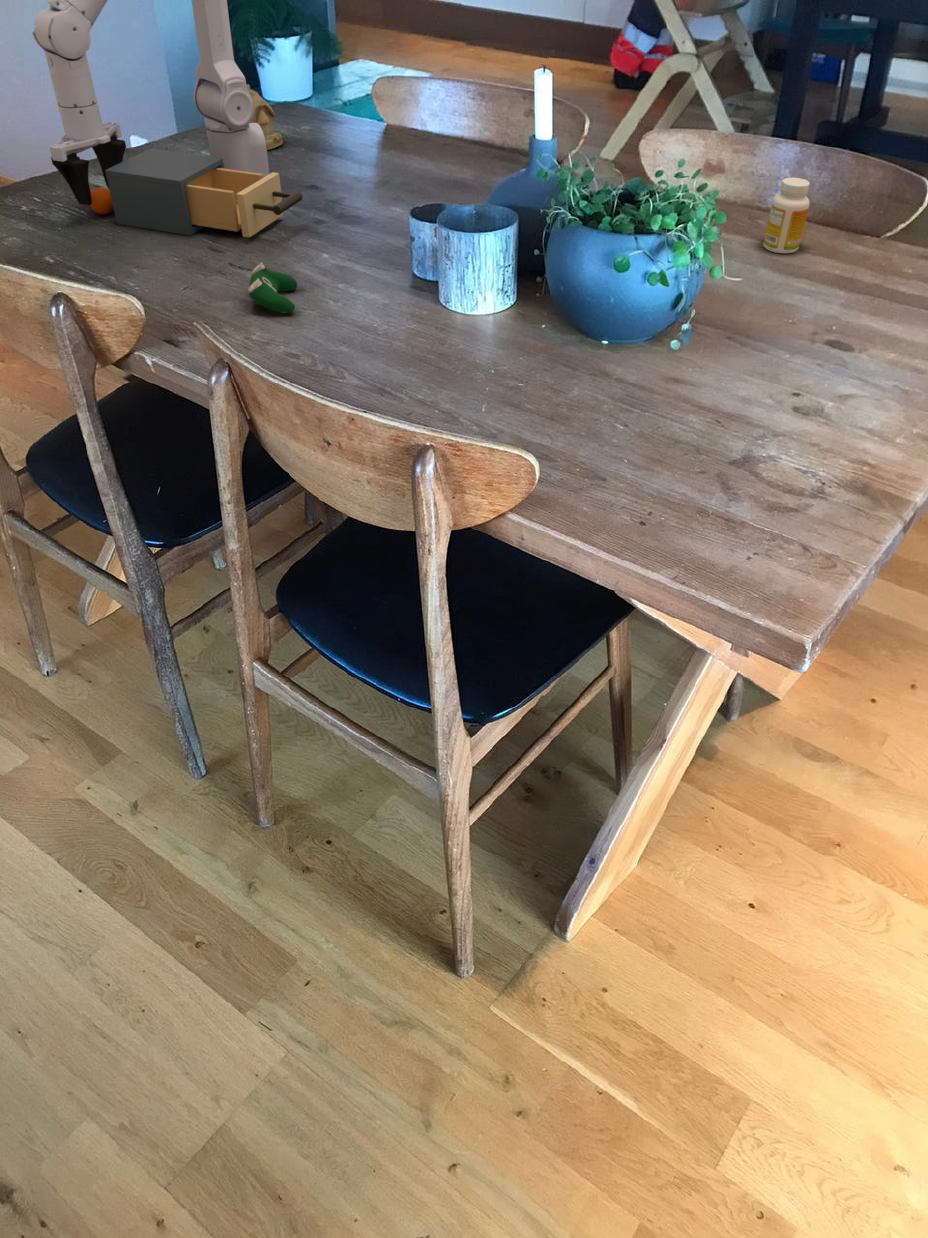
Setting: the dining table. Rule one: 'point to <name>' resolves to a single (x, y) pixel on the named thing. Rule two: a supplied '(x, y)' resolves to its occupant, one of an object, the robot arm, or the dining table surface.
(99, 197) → the ball
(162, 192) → the cabinet
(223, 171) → the drawer
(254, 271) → the green fabric slippers
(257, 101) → the ceramic model
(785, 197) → the supplement bottle
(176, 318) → the dining table surface
